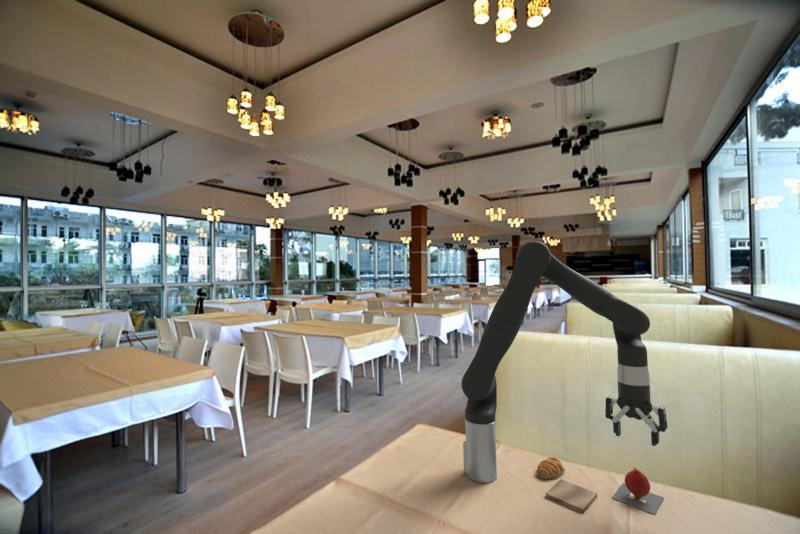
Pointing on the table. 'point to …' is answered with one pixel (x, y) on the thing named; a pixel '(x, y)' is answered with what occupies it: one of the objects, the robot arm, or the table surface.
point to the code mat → (638, 500)
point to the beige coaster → (571, 495)
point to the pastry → (550, 468)
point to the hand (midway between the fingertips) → (635, 440)
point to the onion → (637, 483)
